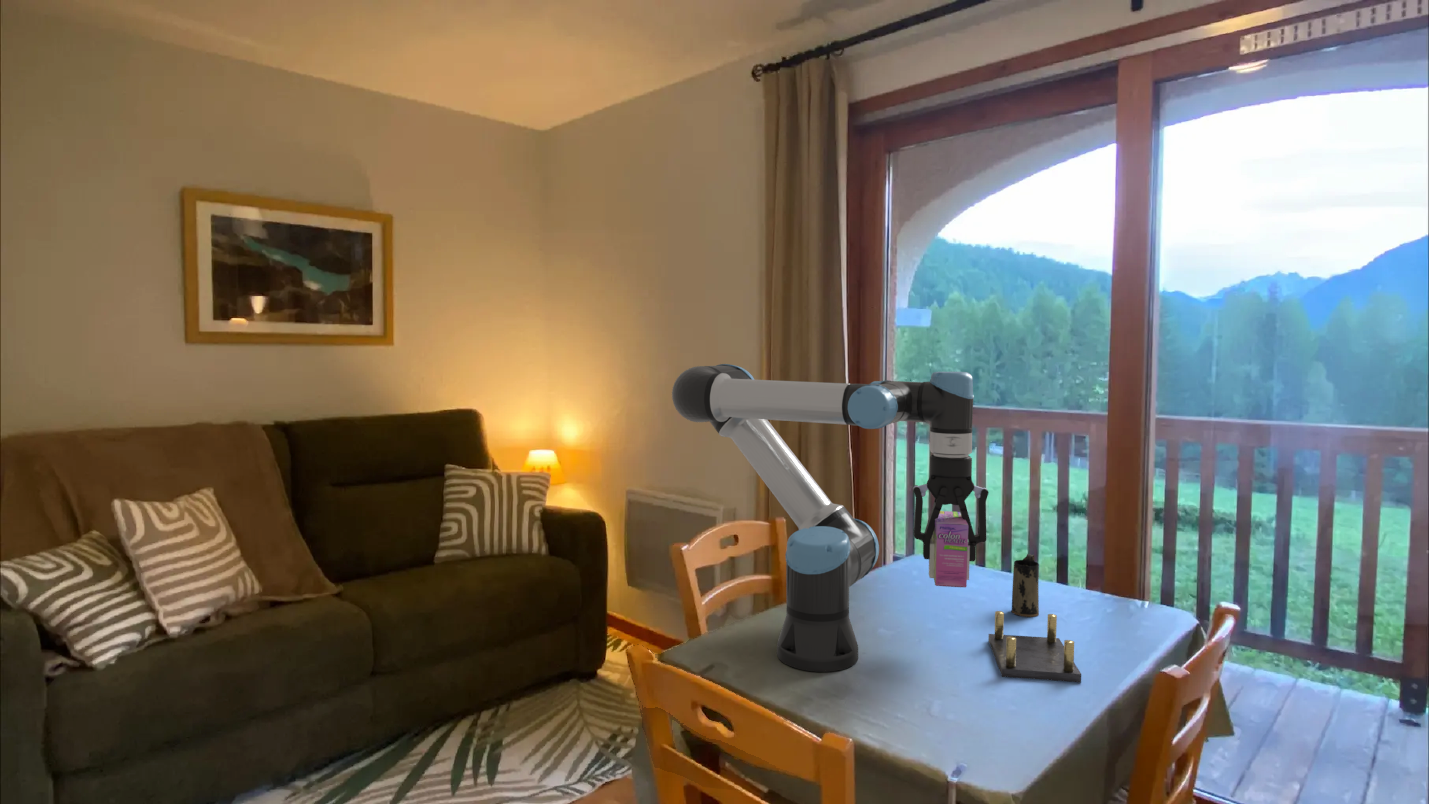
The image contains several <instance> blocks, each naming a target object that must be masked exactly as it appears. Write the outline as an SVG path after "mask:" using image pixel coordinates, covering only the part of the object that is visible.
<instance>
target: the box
mask: <svg viewBox="0 0 1429 804" xmlns="http://www.w3.org/2000/svg"><path fill="white" fill-rule="evenodd" d="M931 540H933V541H934V578H933V580H934V585H935V586H936V587H946V588H947V587H948V588H949V587H950V588H967V585H968V584H967V582H968V580H967V552H968V523H967V521H966V520H964V519H962V517H961V513H960V511H949V510H947V511H946V510H940V513H939V516H938V518H936V519H935V528H934V531H933V535H932V538H931Z"/></svg>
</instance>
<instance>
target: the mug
mask: <svg viewBox="0 0 1429 804" xmlns="http://www.w3.org/2000/svg"><path fill="white" fill-rule="evenodd" d="M1039 570H1040V564H1039V562H1037V561H1035V555H1034V554H1029V553H1028V554H1026V555H1025V557H1024V558H1023V559H1017V560H1014V561H1013V572H1012V573H1013V574H1012V575H1013V576H1012V590H1011V591H1012V594H1011V613H1012V614H1014V615H1015V616H1018V617H1022V618H1035V617H1038V616H1039V615H1040V609H1039V603H1040V602H1039V601H1040V600H1039V599H1040V598H1039V597H1040V596H1039V595H1040V594H1039V580H1040V579H1039V576H1040V575H1039V572H1040V571H1039Z"/></svg>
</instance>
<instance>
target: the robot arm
mask: <svg viewBox="0 0 1429 804" xmlns="http://www.w3.org/2000/svg"><path fill="white" fill-rule="evenodd" d="M973 383H974V382H973V376H972V374H970V372H967V371H934V372H932V373H931V376H930V380H929V381H905V380H904V381H900V380H899V381H897V380H890V379H888V380H879V381H878V380H874V381H872V382H870V383H868V384H867V383H844V382H821V381H819V382H817V381H799V380H798V381H797V380H796V381H795V380H794V381H793V380H774V379H773V380H769V379H755V378H754V376H753V375H752V374H751V373H750V372H749V371H748V370H746V368H743V367H741V366H738V365H734V364H729V363H722V364H721V363H720V364H717V365H703V366H702V365H698V366H693V367H691V368H688V369H685V370H684V371H682V372H681V373H680V374H679V376H678V377H677V378H676V380H675V382H674V384H673V386H672V389H671V390H672V391H671V399H672V403H673V405H674V408H675V409H676V411H677V412H678V414H679V415H681V417H683V418H684V419H686V420H688V421H690V422H693V423H708V422H709V423H710V424H711V425H712V427H713V428H714V430H715V431H716V432H717V434H718V435H719V436H720V437H722V438H723V437H725V438H729V439H731V440H732V441H733V443H734V445H735V446H736V447H737V449H738V450H739V451H740V452H741V454H742V455H743V456H744V457H745V459H746V460H747V462H748V463H749V464H750V465H751V467H752V468H753V470H754V471H755V472H756V473H757V475H758V476H759V477H760V479H761V480H762V481H763V482H764V484H765V485H766V487H767V488H768V490H770V492H771V493H772V495H774V497H775V498H776V500H777V501H778V503H779V504H780V506H781V507H782V508H783V510H784V511H785V512H786V513H787V514H788V516H789V518H791V520H792V521H793V522H794V524H795V525H796V527H797V528H798V530H796V531H795V532H793V533H792V534H790V536H789V537H788V539H787V542H786V550H785V555H784V556H785V562H786V563H785V564H786V565H785V569H786V570H785V571H786V572H785V573H786V574H785V576H786V577H785V578H786V584H785V586H786V587H785V588H786V590H785V591H786V614H785V618H784V620H783V623H782V626H781V630H780V633H779V636H778V639H777V643H776V656H777V659H778V660H780V662H781V663H783V664H785V665H786V666H788V667H792V668H794V669H797V670H801V671H807V672H817V673H819V672H820V673H822V672H823V673H824V672H837V671H842V670H845V669H848V668H851V667H852V666H854V665H855V664H856V663H857V662H858V661H859V645H858V642H857V638H856V635H855V631H854V628H853V625H852V623H851V619H850V587H851V586H853V585H854V584H855V583H857V582H859V580H862V579H863V578H864V577H866V576H867V575H869V573H870V572H871V570H872V569H873V568H874V567H875V565H876V563H877V562H878V560H879V559H878V558H879V553H880V545H879V544H880V543H879V540H878V537H877V535H876V533H875V531H874V530H873V528H872V527H871V526H870V525H869V524H868V523H866V522H865V521H863V520H860V519H858V518H854V517H853V515H851V513H850V512H849V510H848V509H847V508H846V507H845V506H844V505H843V504H838V503H834V502H832V501H831V500H830V498H829V497H828V495H827V494H826V493H825V492H824V490H823V489H822V487H820V486H819V484H818V483H817V482H816V480H815V479H814V478H813V477H812V475H811V473H810V472H809V471H808V470H807V469H806V467H805V466H804V465H803V464H802V462H801V461H800V460H799V458H798V457H797V456H796V455H795V453H794V452H793V451H792V450H791V448H790V447H789V446H788V444H787V443H786V442H785V440H784V439H783V438H782V436H781V435H780V434H779V433H778V431H777V430H776V429H775V428H774V426H773V425H772V423H771V422H770V421H771V420H772V421H786V422H787V421H788V422H789V421H790V422H799V423H801V422H803V423H817V424H818V423H819V424H836V425H846V426H847V425H848V426H855V427H856V426H858V427H861V428H862V429H866V430H874V429H875V430H877V429H882V428H884V427H886V426H889V425H892V424H894V423H898V422H924V423H925V422H929V423H930V429H929V436H930V437H929V451H930V452H931V453H932V454H931V455H930V457H929V476H928V479H927V481H926V483H924V484H921V485H917V484H915V485H913V487H912V490H913V494H914V496H915V504H914V518H913V532H912V533H913V536H914V537H913V538H914V539H915V540H919V541H921V542H922V557H923V559H924V560H928V576H929V579H934V541H933V540H932V535H933V531H934V528H935V519H936V518H938V516H939V513H940V511H942V508H943V506H947V505H953V506H958V509H959V512H960V513H961V517H962V519H964V520H966V521H967V523H968V552H967V581H970V562H975V560H976V559H977V558H976V555H977V552H976V551H977V550H976V549H977V548H976V547H977V544H979V543H986V541H987V516H986V515H987V514H986V513H987V512H986V511H987V509H986V506H987V505H986V503H987V499H988V497H989V490H988V489H987V488H986V487H984V486H982V487H981V486H978V485H975V484H974V482H973V479H972V475H973V474H972V472H973V471H972V469H973V458H972V456H970V454H972V453H973V422H974V421H973V419H974V418H973V417H974V416H973V415H974V399H975V395H974V386H973V385H974V384H973ZM769 420H770V421H769ZM927 491H929V493H930V494H931V495H932V497H933V498H934V500H933V504H932V508H931V511H930V514H929V518H928V519H927V524H926V527H925V529H924V532H922V524H923V522H922V521H923V507H924V506H923V503H924V500H923V497H925V496H926V494H927V493H926V492H927ZM972 492H974V496H975V498H976V505H977V506H976V508H977V509H976V510H977V511H976V514H977V516H976V517H977V518H976V519H977V533H976V534H975V533H974V532H975V531H974V529H973V526H972V522H971V519H970V515H969V512H968V507H967V505H966V500H967V499H968V497H969V496H970V495H971V494H972Z"/></svg>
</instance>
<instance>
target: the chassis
mask: <svg viewBox="0 0 1429 804" xmlns="http://www.w3.org/2000/svg"><path fill="white" fill-rule="evenodd" d="M1057 620H1058V616H1057V614H1054V613H1048V614H1047V623H1046V624H1047V625H1046V626H1047V628H1046V630H1047V631H1046V636H1045V637H1044V636H1032V635H1031V636H1029V635H1028V636H1027V635H1015V634H1014V635H1012V634H1004V629H1005V628H1004V626H1005V625H1004V623H1005V612H1003V611H1001V610H996V611H994V633H988V637H987V638H988V644H989V647H990V649H991V651H992V654H993V657H994V660H995V662H996V665H997V667H998V670H999V672H1000V676H1001V677H1002V678H1011V679H1013V678H1014V679H1026V680H1039V681H1040V680H1041V681H1051V682H1052V681H1054V682H1055V681H1056V682H1067V683H1078V684H1079V683H1082V673H1081V671H1080V669H1079V668H1078V667H1077V665H1076V663H1075V641H1073V640H1071V639H1065V640H1064V641H1063V642H1064V643H1063V642H1062V640H1061V639H1060V638H1059V637H1057V625H1058V623H1057Z"/></svg>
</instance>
